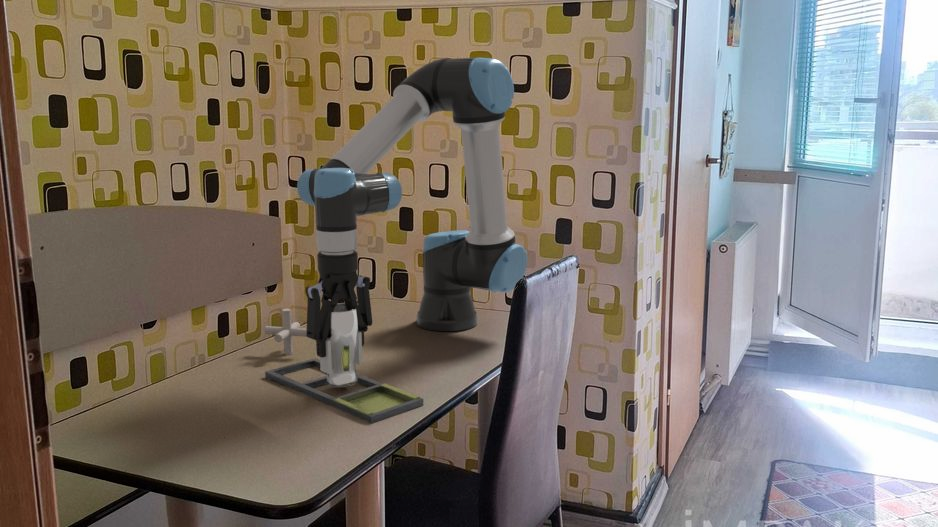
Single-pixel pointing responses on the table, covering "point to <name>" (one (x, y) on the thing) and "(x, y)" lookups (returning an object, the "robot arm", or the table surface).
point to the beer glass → (343, 346)
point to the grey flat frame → (352, 394)
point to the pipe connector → (286, 331)
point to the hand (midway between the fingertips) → (341, 367)
